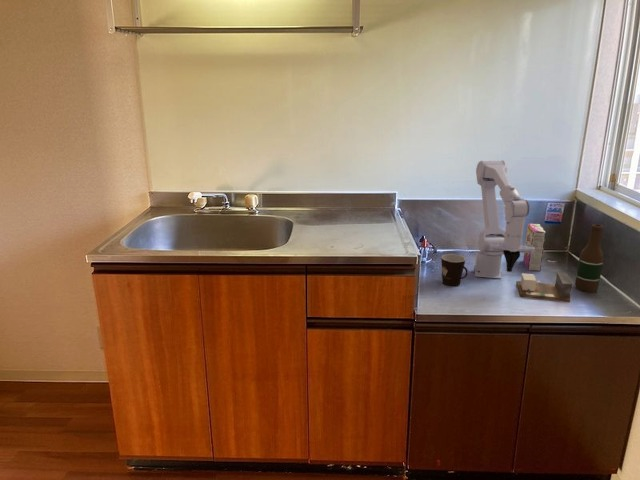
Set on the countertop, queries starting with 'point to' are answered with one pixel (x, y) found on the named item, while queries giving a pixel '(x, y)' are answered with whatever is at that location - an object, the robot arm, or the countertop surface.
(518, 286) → the frame
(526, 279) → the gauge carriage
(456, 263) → the coffee mug
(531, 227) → the candy bar box
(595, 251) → the beer bottle
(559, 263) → the countertop surface
